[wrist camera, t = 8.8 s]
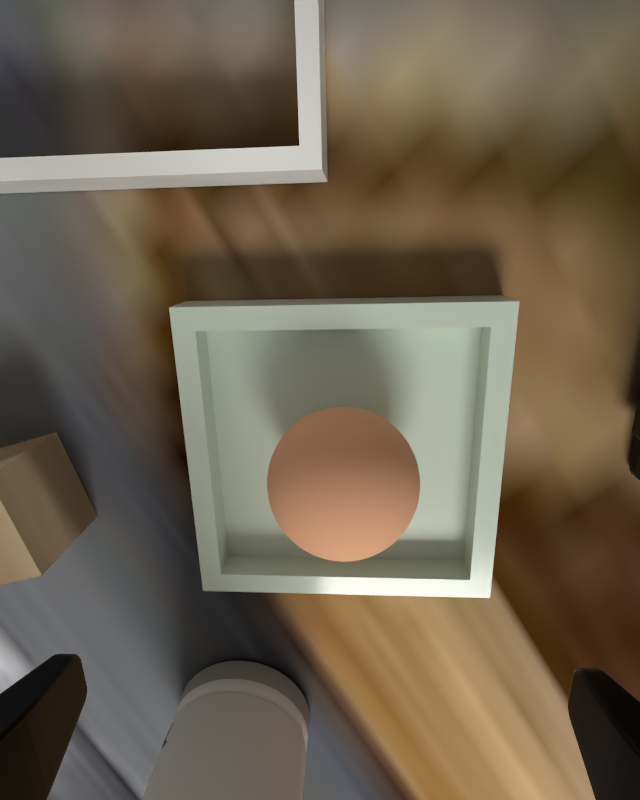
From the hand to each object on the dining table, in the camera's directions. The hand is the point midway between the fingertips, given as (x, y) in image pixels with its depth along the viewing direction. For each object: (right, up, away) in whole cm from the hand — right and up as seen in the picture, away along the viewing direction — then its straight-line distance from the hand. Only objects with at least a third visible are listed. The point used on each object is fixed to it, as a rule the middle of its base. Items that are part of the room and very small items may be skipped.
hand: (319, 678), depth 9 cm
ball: (+1, +3, +10) cm, 10 cm away
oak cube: (-12, +1, +12) cm, 17 cm away
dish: (+1, +3, +10) cm, 11 cm away
